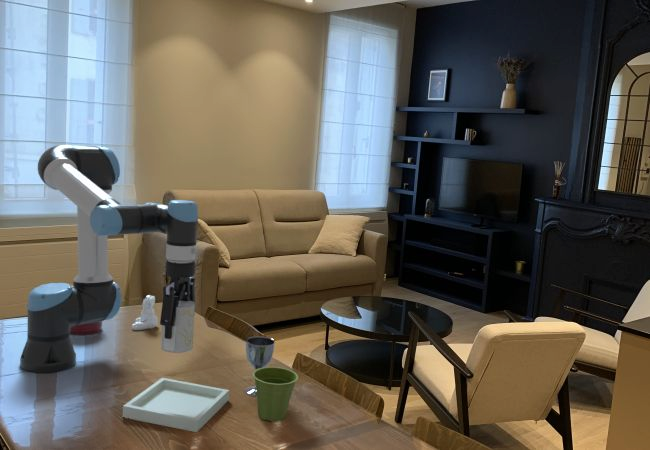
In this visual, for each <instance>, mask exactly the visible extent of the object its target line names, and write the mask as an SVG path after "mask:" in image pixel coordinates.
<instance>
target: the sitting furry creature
mask: <svg viewBox="0 0 650 450" xmlns="http://www.w3.org/2000/svg"><path fill="white" fill-rule="evenodd" d="M155 303H156V296H155V295H151V294H148V295H146V297H145V298H143V300H142V304H141V305H142V306H143V307H142V310H141V313H140V316H139V317H138V318H135V321H134V323H133V324H132V325H131V330H132V331H141V330H143V331H144V330H151V329H154V328H155V327H157V326H158V323H159V320H158V316H156V314H155V309H154V308H153V306H154V305H155Z"/></svg>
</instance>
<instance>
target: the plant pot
mask: <svg viewBox="0 0 650 450" xmlns="http://www.w3.org/2000/svg"><path fill="white" fill-rule="evenodd" d="M252 377H253V379H254V382H255V383H254V384H255V385H254V386H256V392H257V397H256V402H257V403H256V404H257V405H256V406H257V415H258V417H259V418H260V419H261V420H264V421H271V422H279V421H283V420H284V419H285V418H286V416H287V412H288V408H289V405H290V400H291V397H292V393H293V390H294V388H295V386H296V385H295V384H296V382H297V381H298V380H299V375H298V374H297V373H296V372H295V371H294V370H291V369H288V368H285V367H279V366H265V367H264V368H259V369H257V370H255V369H254V370H253V372H252Z"/></svg>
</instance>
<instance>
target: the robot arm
mask: <svg viewBox="0 0 650 450" xmlns="http://www.w3.org/2000/svg"><path fill="white" fill-rule="evenodd" d="M37 173H38V176H39V177H40V180H41V182H43V183H44V184H45V185H46V186H47V187H48V188H50V189H52V190H55V191H59V193H61V194H62V195H64V196H65V197H66V198H67V199H68V200H70V202H72V203H73V204H74V205H76V214H77V215H76V216H77V259H78V260H77V264H78V266H77V267H78V268H77V269H78V272H77V273H78V274H76V276H74V278H73V281H72V282H73V284H72V285H71V284H69V283H68V282H67V283H66V282H57V283H55V282H51V283H45V284H42V285H39V286H36V287H35V288H33V289H32V290H31V291H30V292H29V293H28V300H27V305H26V308H27V334H26V335H27V336H26V337H27V338H26V342H25V345H24V347H23V350H22V353H21V355H20V358H19V359H20V360H19V361H20V363H19V367H20V369H21V368H22V369H23V370H25V371H27V372H32V373H42V374H43V373H53V372H61V371H65V370H68V369H70V368H72V367H73V366H74V365H75V364H76V363H77V353H76V352H75V348H74V345H73V342H72V339H71V334H70V330H71V326H76V325H82V324H87V323H93V322H102V323H103V322H105V321H107V320H111V319H113V318H115V316H116V315H117V314H118V313H119V311H120V309H121V305H122V300H123V299H122V292H121V290H120V286H119V284H118V283H116V282H114V277H113V276H112V275H111V274H110V273H109V255H108V254H109V253H108V250H109V249H108V248H109V247H108V242H109V241H108V237H113V236H121V235H122V236H123V235H132V234H133V235H134V234H136V235H137V234H151V233H160V234H164V235H166V248H165V250H166V251H165V258H166V261H165V275H166V276H168V277H169V278H170V279H169V283H168V286H166V285H164V286H163V287H162V288H163V289H162V293H163V294H162V295H163V297H162V303H161V304H162V305H161V312H160V321H159V325H160V326H162V325H164V326H165V331H164V350H169V351H174V350H175V333H176V326H174V323H175V318H176V307H178V305H179V301H193V302H194V303H195V304H196V298H195V297H196V296H195V283H196V282H195V281H196V278H195V277H193V276H195V274H196V261H195V260H196V257H197V256H196V255H197V254H196V253H198V249H197V238H198V222H199V221H198V220H199V215H198V213H199V211H198V210H199V209H198V208H199V207H198V203H197V202H196V201H194V200H193V201H192V200H188V199H187V200H186V199H172V200H169V202H168V205H167V204H163V203H160V202H146V203H144V204H122V203H120V202H119V201H118V200H116V199H115V198H114V197H113V196H112V195H110V193H111V192H113V185H115V184H116V183H118V181H119V178H120V176H121V175H120V174H121V168H120V163H119V160H118V158H117V155H116V154H115V153H114V151H113V150H111V148H108V147H104V146H99V145H98V146H97V145H93V146H92V145H75V144H73V145H72V144H70V145H68V144H59V145H55V146H54V145H53V146H51V147H50V148H48V149H46V150H45V151H44V152H43V153H42V154H41V155H40V157H39V160H38V161H37ZM71 286H73V287H71ZM195 314H196V313H195V312H194V316H195ZM164 350H163V351H164Z"/></svg>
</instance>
